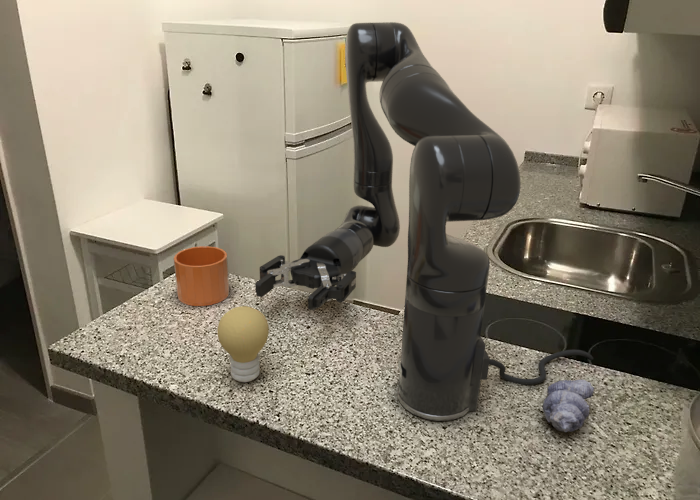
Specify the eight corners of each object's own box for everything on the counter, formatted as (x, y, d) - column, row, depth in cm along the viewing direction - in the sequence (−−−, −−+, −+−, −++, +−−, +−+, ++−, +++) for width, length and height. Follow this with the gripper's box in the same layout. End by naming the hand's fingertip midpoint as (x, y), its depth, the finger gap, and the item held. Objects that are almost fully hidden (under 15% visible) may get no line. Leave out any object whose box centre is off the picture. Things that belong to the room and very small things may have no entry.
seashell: (561, 401, 76) (556, 454, 67) (540, 369, 75) (532, 417, 67) (601, 389, 73) (601, 441, 64) (579, 355, 72) (577, 403, 64)
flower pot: (231, 282, 102) (229, 245, 99) (226, 305, 94) (224, 266, 92) (182, 283, 101) (178, 246, 99) (173, 306, 94) (169, 267, 91)
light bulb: (210, 381, 76) (205, 314, 72) (241, 358, 81) (237, 293, 77) (250, 397, 73) (247, 327, 69) (279, 371, 78) (278, 305, 74)
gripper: (295, 228, 98) (240, 263, 84) (374, 243, 92) (329, 284, 79) (296, 268, 101) (242, 309, 87) (372, 286, 95) (328, 332, 82)
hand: (283, 297), depth 83 cm, fingers open, 8 cm apart
